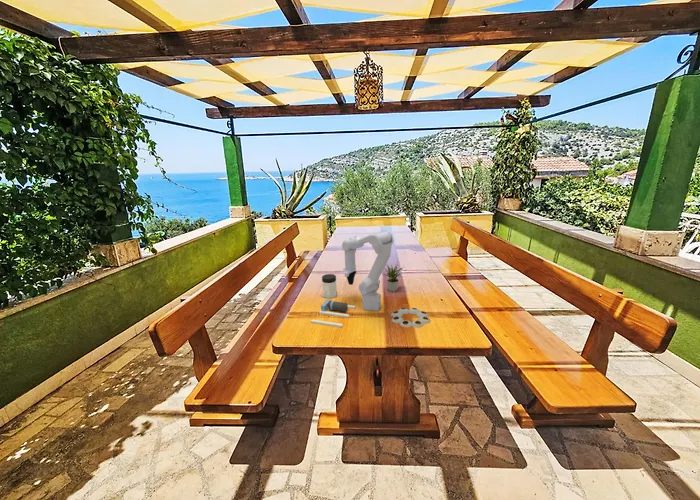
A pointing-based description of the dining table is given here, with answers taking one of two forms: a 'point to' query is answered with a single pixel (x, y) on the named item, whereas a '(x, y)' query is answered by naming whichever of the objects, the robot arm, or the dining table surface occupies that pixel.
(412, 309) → the paint palette
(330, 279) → the jar
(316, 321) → the cream cylinder cradle
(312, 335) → the dining table surface
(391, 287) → the house plant
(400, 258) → the dining table surface
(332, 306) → the banded tin can
